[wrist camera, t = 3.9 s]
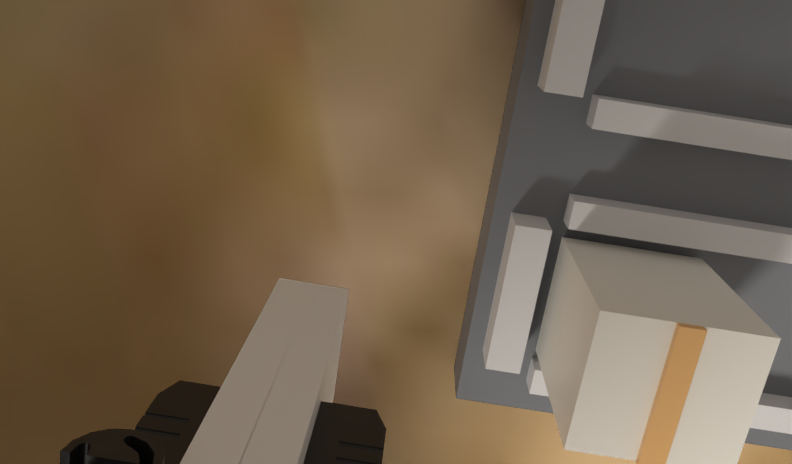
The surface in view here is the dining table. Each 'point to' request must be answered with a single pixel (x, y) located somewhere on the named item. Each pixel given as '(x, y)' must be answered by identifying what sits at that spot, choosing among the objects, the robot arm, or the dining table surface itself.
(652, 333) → the white taped box
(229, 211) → the dining table surface
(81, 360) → the dining table surface
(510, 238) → the grey compartment tray
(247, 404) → the robot arm
